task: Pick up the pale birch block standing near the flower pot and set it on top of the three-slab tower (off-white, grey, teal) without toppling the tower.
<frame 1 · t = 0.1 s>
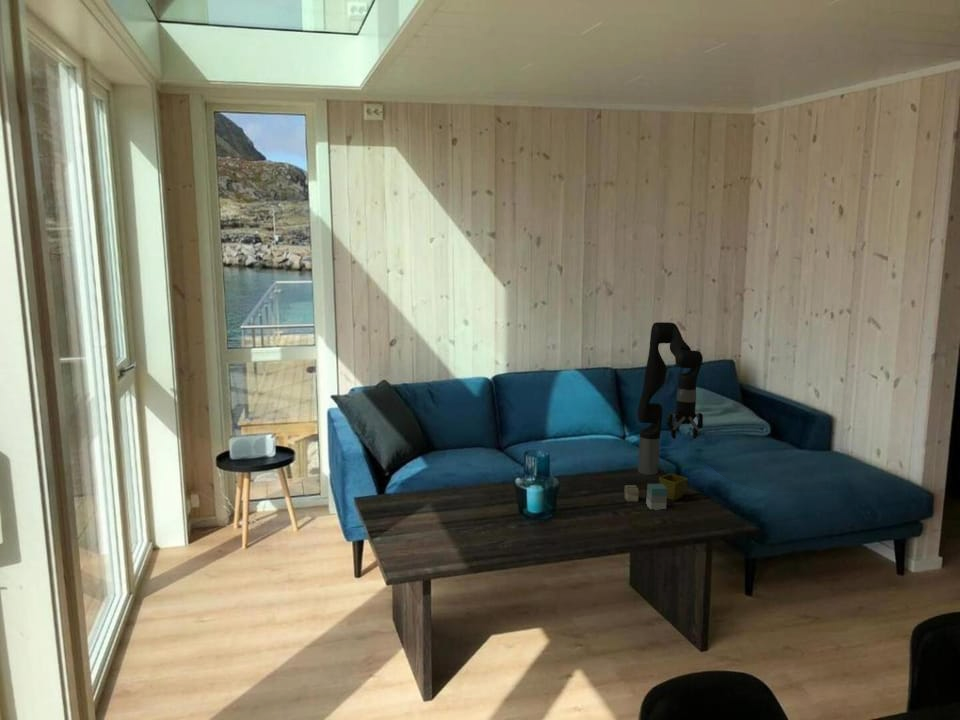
hand: (683, 438, 313), 29 cm above the table, fingers open, 8 cm apart
slab middle: (656, 500, 317), point 3 cm above the table, touching slab bottom, slab top
slab top: (657, 493, 316), point 6 cm above the table, touching slab middle
slab bottom: (655, 507, 317), on the table, touching slab middle
birch block: (631, 499, 325), on the table
flower pot: (672, 498, 328), on the table
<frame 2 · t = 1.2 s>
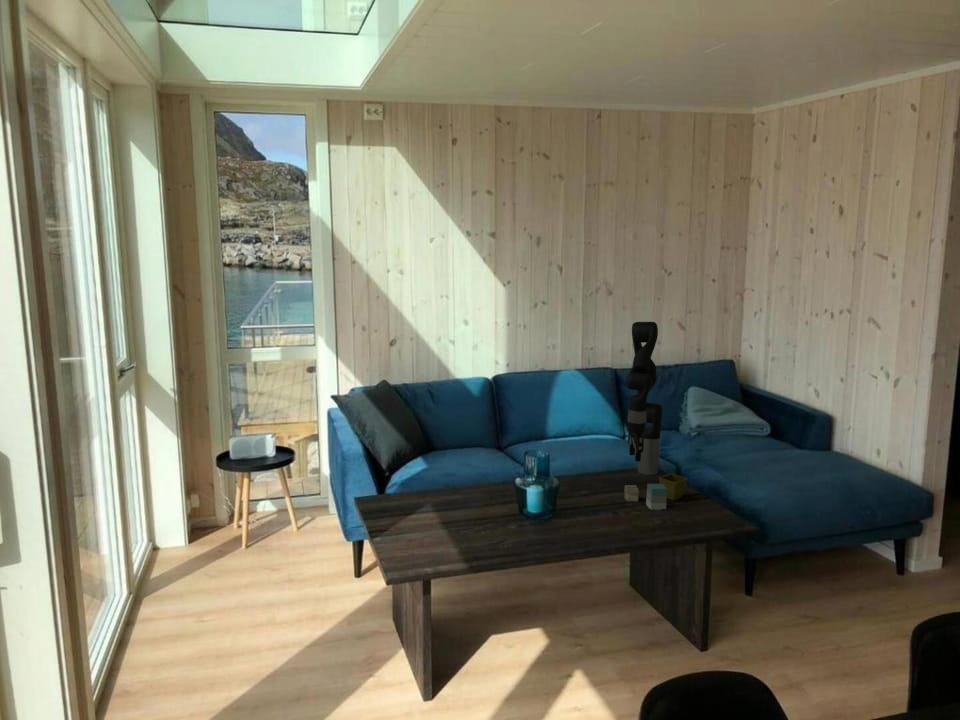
hand: (634, 458, 322), 18 cm above the table, fingers open, 8 cm apart
nothing on the table moved.
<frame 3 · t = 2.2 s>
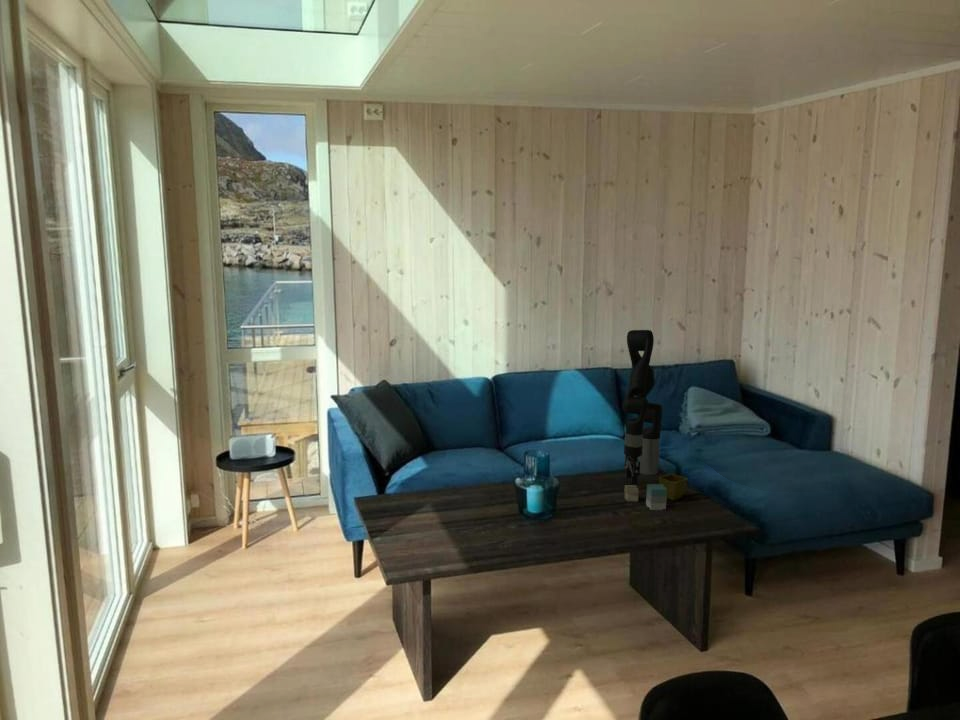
hand: (631, 481, 324), 8 cm above the table, fingers open, 8 cm apart
nothing on the table moved.
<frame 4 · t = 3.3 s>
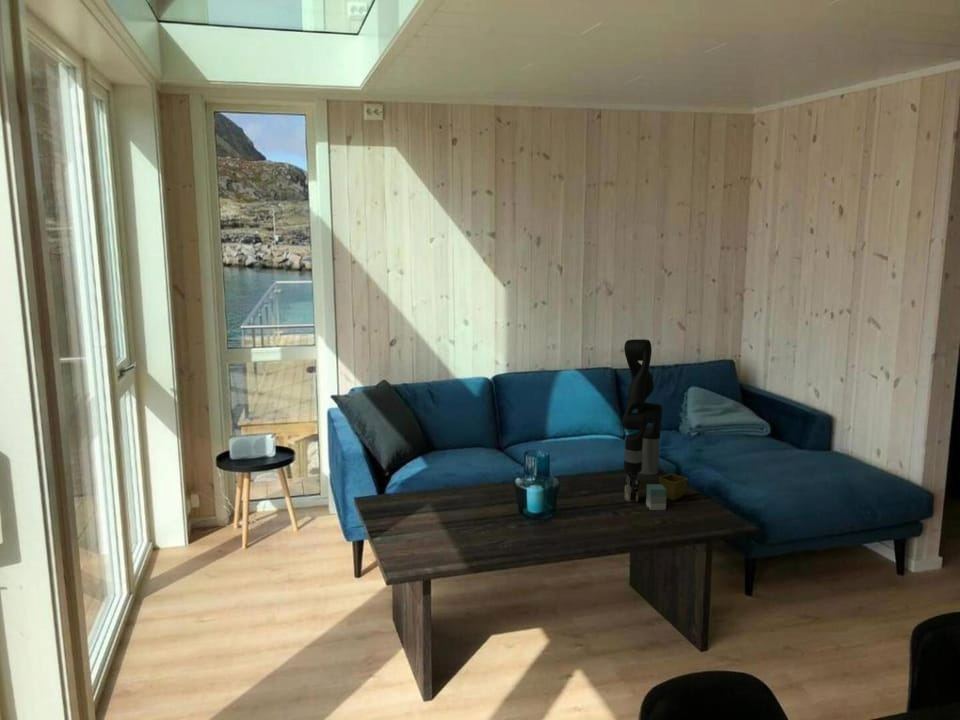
hand: (631, 498, 325), 1 cm above the table, fingers closed on birch block, 4 cm apart
slab middle: (656, 500, 316), point 3 cm above the table, touching slab bottom
slab top: (656, 493, 316), point 6 cm above the table
birch block: (631, 499, 325), on the table, touching gripper
everything else where it was.
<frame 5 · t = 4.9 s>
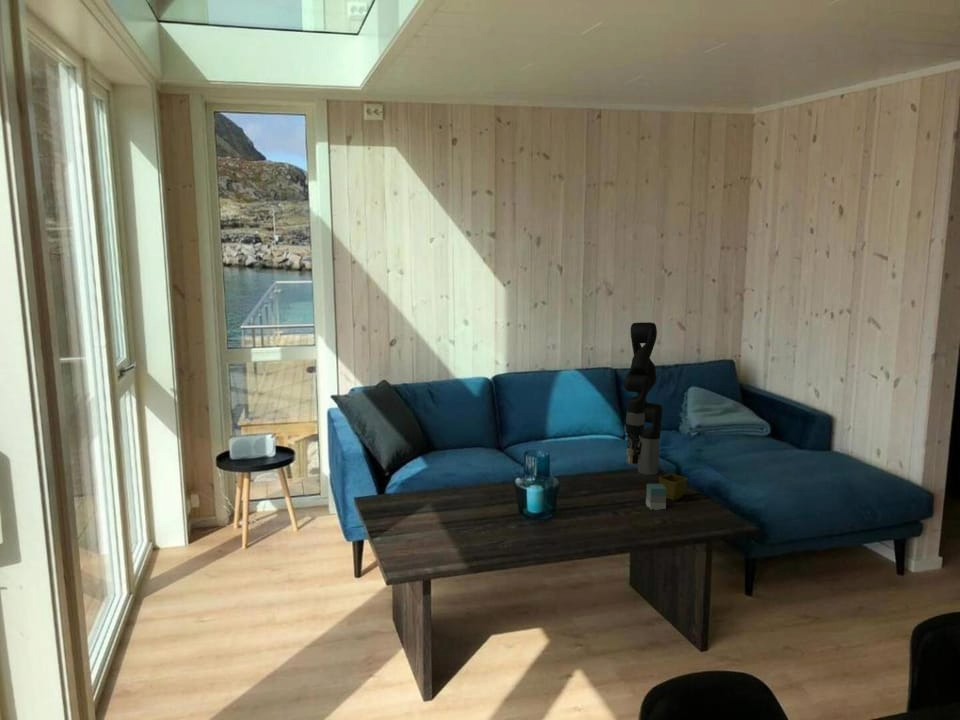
hand: (633, 461, 322), 17 cm above the table, fingers closed on birch block, 4 cm apart
birch block: (633, 462, 323), point 16 cm above the table, touching gripper
everything else where it was.
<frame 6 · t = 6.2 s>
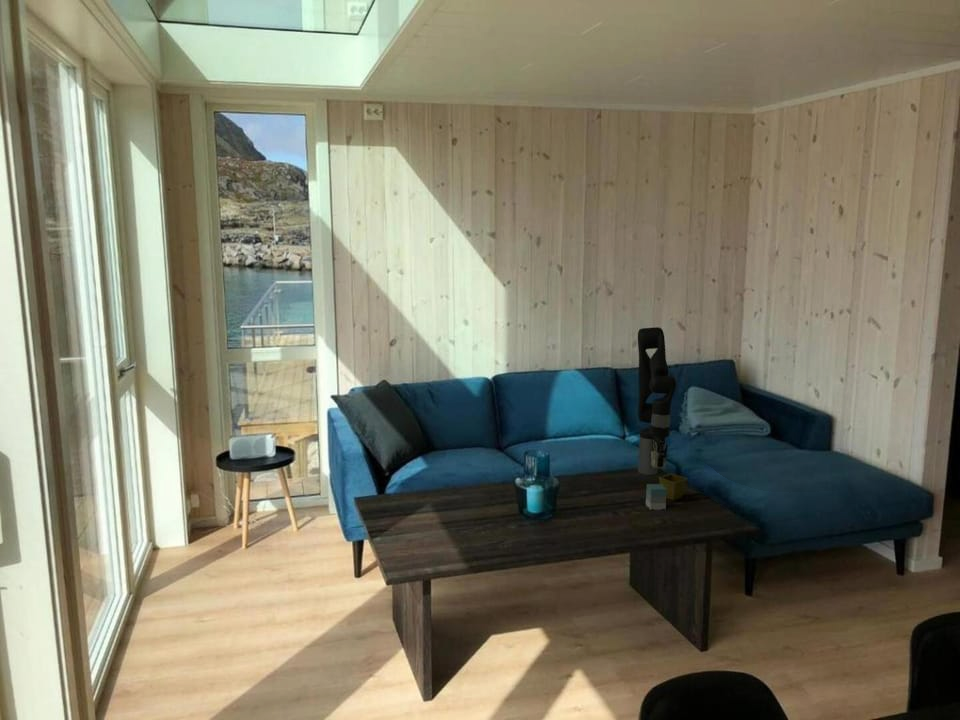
hand: (658, 464, 314), 18 cm above the table, fingers closed on birch block, 4 cm apart
slab middle: (655, 500, 317), point 3 cm above the table, touching slab bottom, slab top
slab top: (656, 493, 316), point 6 cm above the table, touching slab middle
birch block: (657, 466, 314), point 17 cm above the table, touching gripper
everything else where it was.
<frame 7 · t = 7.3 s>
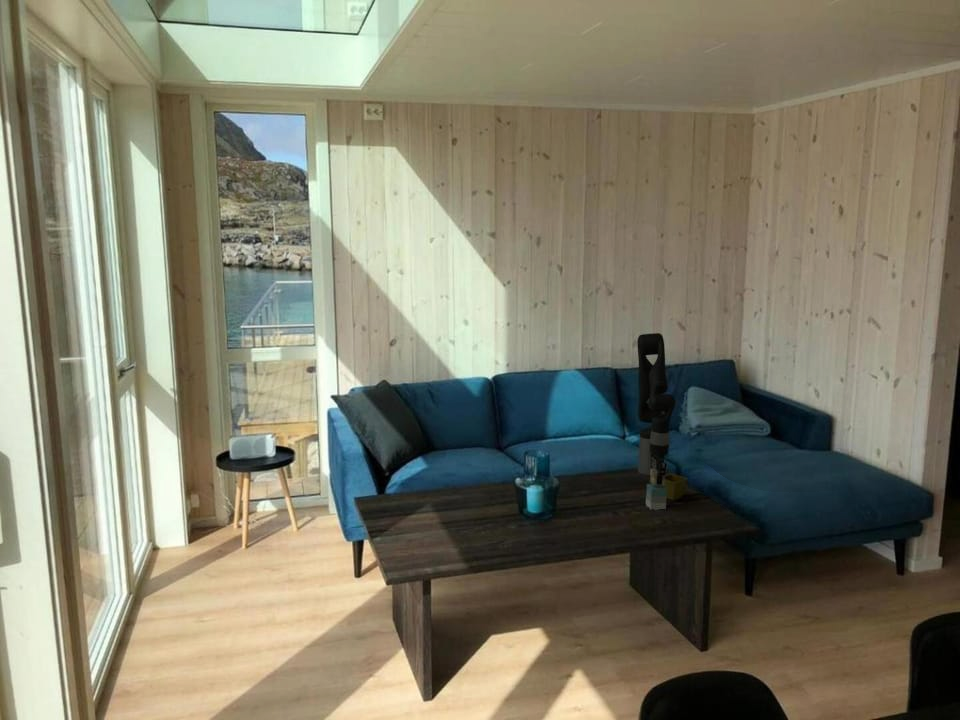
hand: (657, 482, 315), 11 cm above the table, fingers closed on birch block, 4 cm apart
birch block: (657, 483, 315), point 10 cm above the table, touching gripper
everything else where it was.
when the fingers open (10 cm above the table, at t = 7.7 s): birch block stays where it is, resting on slab top.
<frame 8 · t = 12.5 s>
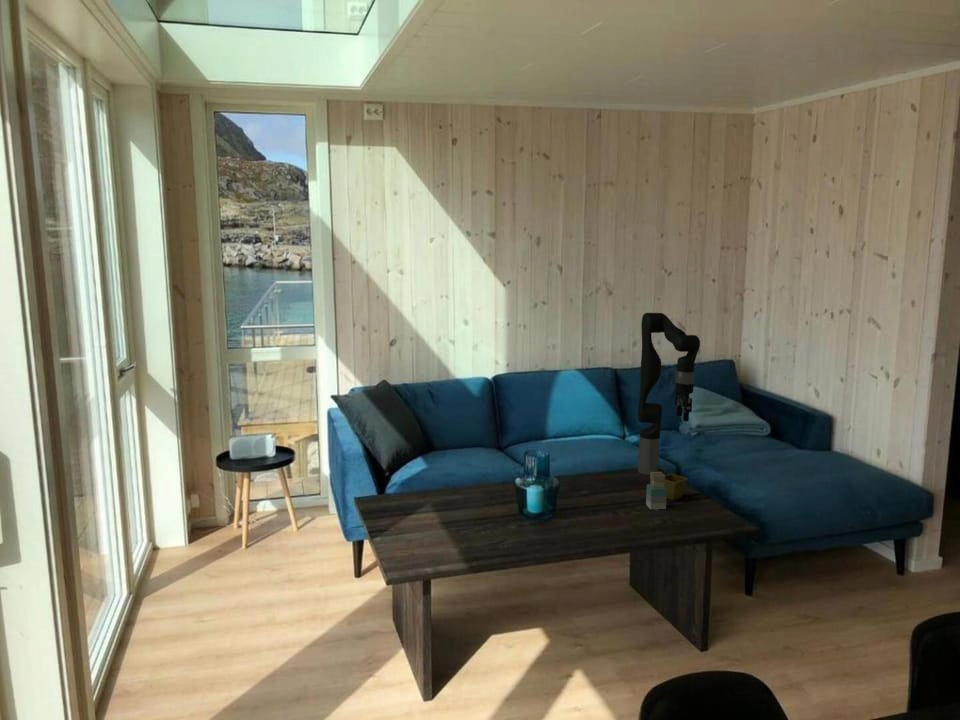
hand: (682, 418, 329), 33 cm above the table, fingers open, 8 cm apart
slab top: (656, 493, 316), point 6 cm above the table, touching birch block, slab middle
birch block: (657, 486, 316), point 9 cm above the table, touching slab top
everything else where it was.
at the end: birch block 0.2 cm off-centre on the slab top, point 3.0 cm above the slab top's base; birch block tilted 0°; slab top 0.2 cm off-centre on the slab bottom, point 6.0 cm above the slab bottom's base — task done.
